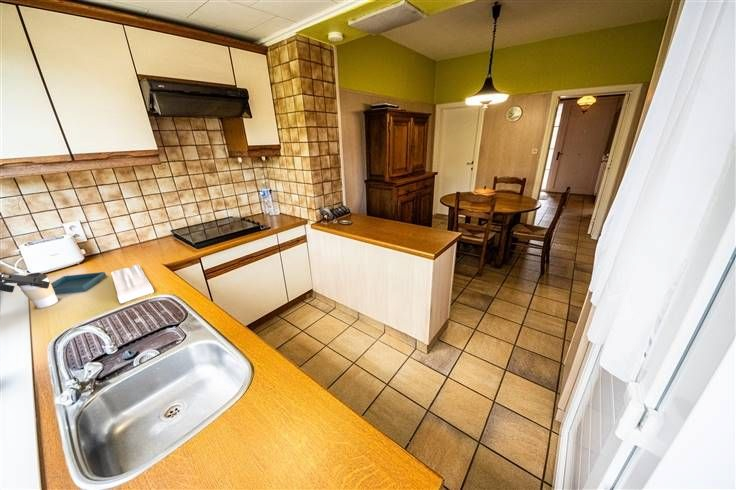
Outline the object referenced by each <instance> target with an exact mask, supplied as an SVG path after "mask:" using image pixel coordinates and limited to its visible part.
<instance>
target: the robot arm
mask: <svg viewBox="0 0 736 490" xmlns="http://www.w3.org/2000/svg"><path fill="white" fill-rule="evenodd" d="M38 279H39V277H32V276H26V275H22V274H14V273H10V272H9V273H8V272H1V273H0V292H7V293H14V290H15V286H16V285H11V284H17V283H18V284H30V285H31V286H36V287H41V288H48V287H49V284H50V283H51V281H50V282H46V281H42V280H38Z"/></svg>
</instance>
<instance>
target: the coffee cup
mask: <svg viewBox="0 0 736 490" xmlns="http://www.w3.org/2000/svg"><path fill="white" fill-rule="evenodd" d="M25 276H32V277H39V279H38V280H42V281H46V282H50V284H49V287H48V288H41V287H36V286H31V285H30V284H18V283H16V286H17V287H19V289H20V291H21V292H22V293H23V294H24V295H25V296H26V298H27V299H28V300H29V301H30V302H31V303H32V304H33V305H34V306H35V308H37V309H45V308H47V307H49V306H53V305H54V304H56V303H58V301H59V300H58V299H59V298H58V297H57V295H55V292H54V289H53V287H52V285H51V283H52V282H51V280H50V279H49V278H48V275H47V274H45V273H41V272H33V273H30V274H26V275H25Z"/></svg>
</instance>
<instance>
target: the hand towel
mask: <svg viewBox="0 0 736 490" xmlns="http://www.w3.org/2000/svg"><path fill="white" fill-rule="evenodd" d="M110 274H111V277H112V280H113V284H114V288H115V291H116V296H117V299H118V301H119V303H120V304H121V305H122V304H125V303H129V302H131V301H133V300H136V299H140V298H142V297H145V296H147V295H151V294H153V293H155V290H154V288H153V285H152V284H151V282H150V281H149V280H148V278H147V276H146V274H145V273H144V271H143V269H142V267H140V264H139V263H137V264H133V265H131V266H130V267H124V268H120V269H117V270H114V271H110Z"/></svg>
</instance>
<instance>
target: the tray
mask: <svg viewBox="0 0 736 490" xmlns="http://www.w3.org/2000/svg"><path fill="white" fill-rule="evenodd" d="M107 277H108V275H107V273H106V271H101V272H99V271H98V272H90V273H81V274H72V275H63V276H62V277H60V278H58V279H56V280H54V281H52V282H50V283H51V285H52V287H53V289H54V292H55V295H56V296H57V295H66V294H77V293H84V292H87V291H88V290H90V289H92V288H93V287H94V286H96V285H98V284H99V283H100V282H102V281H103V280H105V279H106V278H107Z"/></svg>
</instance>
